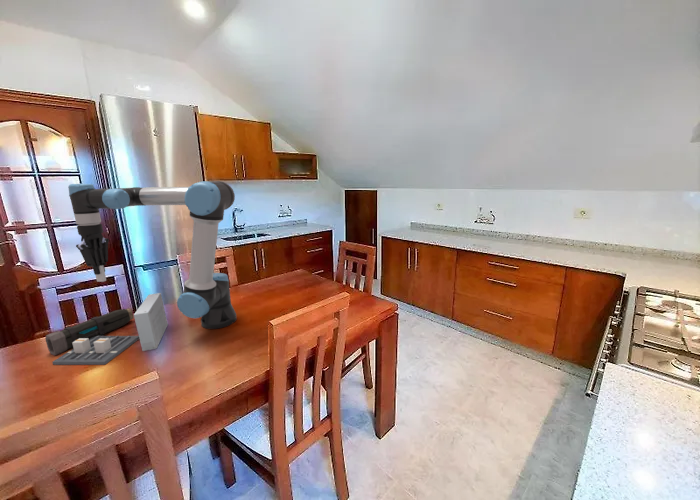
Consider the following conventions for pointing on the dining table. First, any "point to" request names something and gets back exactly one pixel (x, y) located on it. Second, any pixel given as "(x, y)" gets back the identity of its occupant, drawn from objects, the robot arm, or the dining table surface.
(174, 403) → the dining table surface
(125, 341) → the console
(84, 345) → the fader
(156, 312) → the skincare box
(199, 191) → the robot arm
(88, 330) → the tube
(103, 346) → the fader
